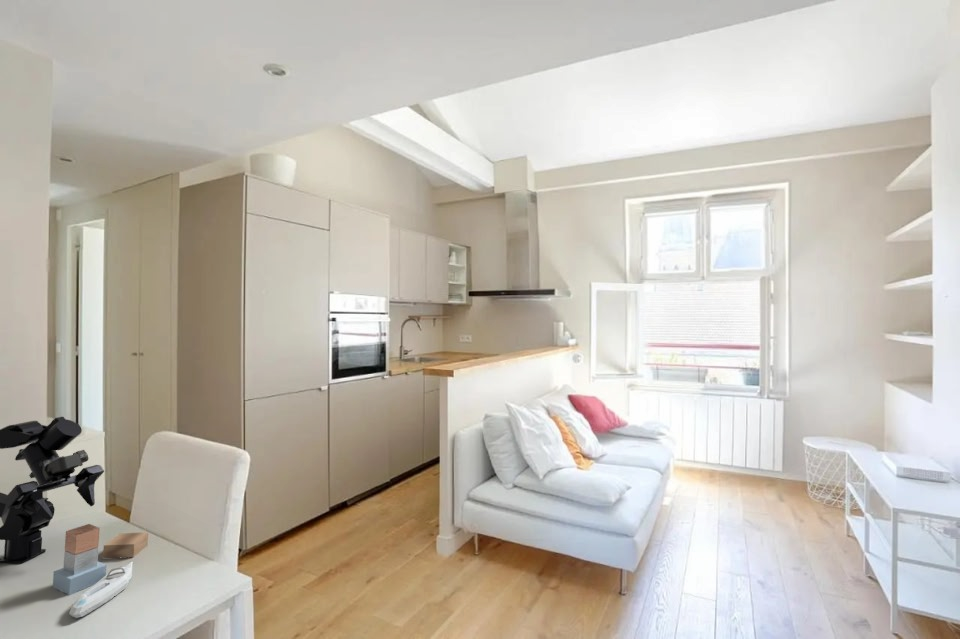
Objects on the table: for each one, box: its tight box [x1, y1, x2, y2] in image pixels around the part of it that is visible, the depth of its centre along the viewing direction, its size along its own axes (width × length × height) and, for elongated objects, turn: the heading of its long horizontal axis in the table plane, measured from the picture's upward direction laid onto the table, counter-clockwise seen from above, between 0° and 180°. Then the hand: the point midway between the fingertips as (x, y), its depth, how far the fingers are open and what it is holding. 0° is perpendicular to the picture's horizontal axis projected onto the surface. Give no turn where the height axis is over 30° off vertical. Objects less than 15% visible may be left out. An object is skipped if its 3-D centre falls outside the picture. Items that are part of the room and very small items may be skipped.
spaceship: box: [68, 561, 134, 619], centre depth 104 cm, size 23×7×4 cm, turn 14°
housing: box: [62, 523, 100, 575], centre depth 106 cm, size 4×4×9 cm
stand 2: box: [102, 531, 149, 559], centre depth 121 cm, size 7×7×4 cm
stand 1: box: [52, 560, 107, 596], centre depth 106 cm, size 7×7×4 cm
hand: (72, 511), depth 113 cm, fingers open, 9 cm apart
